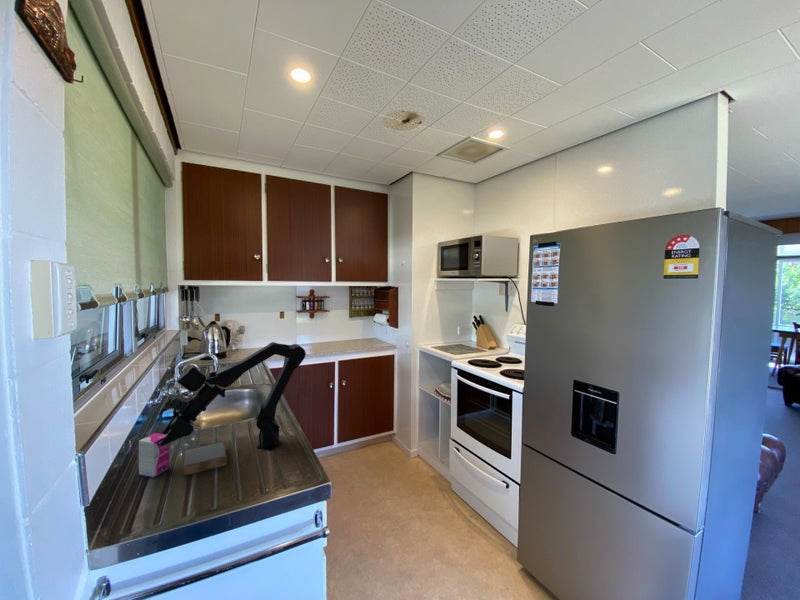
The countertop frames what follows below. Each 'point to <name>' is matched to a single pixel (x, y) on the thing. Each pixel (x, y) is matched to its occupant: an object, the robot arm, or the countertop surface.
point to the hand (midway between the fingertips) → (162, 439)
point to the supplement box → (153, 456)
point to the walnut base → (205, 458)
